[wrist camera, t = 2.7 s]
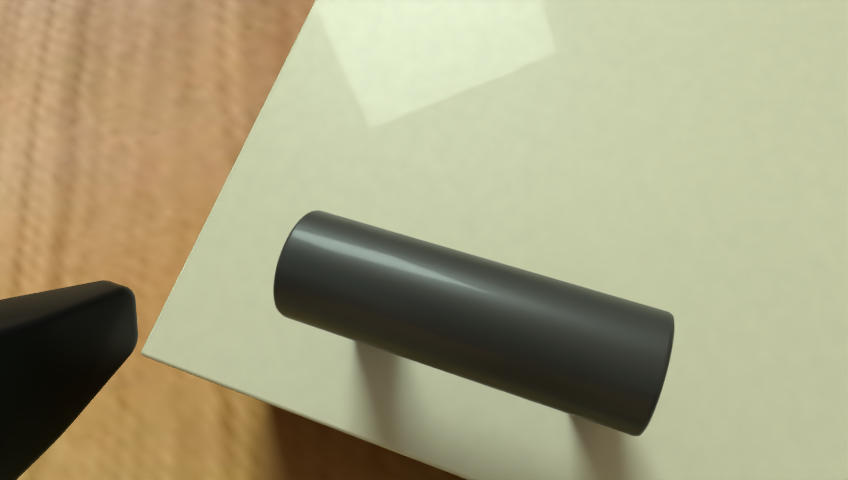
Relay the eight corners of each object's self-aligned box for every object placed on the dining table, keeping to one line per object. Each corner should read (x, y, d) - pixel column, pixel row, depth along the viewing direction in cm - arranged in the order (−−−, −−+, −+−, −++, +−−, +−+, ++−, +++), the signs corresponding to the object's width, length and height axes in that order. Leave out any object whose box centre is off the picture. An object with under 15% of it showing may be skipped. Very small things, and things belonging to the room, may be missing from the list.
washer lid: (822, 614, 10) (1043, 705, 6) (157, 360, 13) (-14, 299, 9) (908, 6, 13) (1082, -208, 9) (371, -81, 16) (322, -274, 12)
